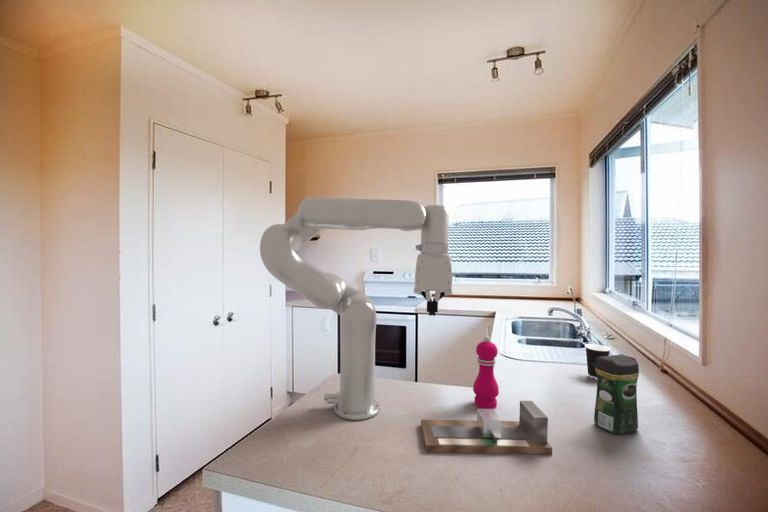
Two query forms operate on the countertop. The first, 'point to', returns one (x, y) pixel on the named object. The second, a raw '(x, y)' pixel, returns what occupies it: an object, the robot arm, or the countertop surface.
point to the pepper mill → (486, 375)
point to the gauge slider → (489, 424)
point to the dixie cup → (594, 357)
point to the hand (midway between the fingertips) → (431, 314)
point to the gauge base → (468, 438)
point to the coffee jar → (616, 393)
